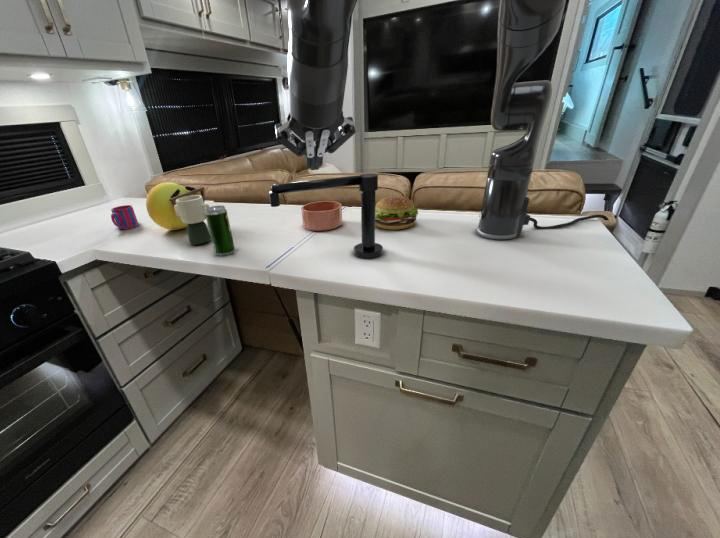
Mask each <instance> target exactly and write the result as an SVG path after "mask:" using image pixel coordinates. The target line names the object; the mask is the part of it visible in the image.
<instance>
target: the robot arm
mask: <svg viewBox="0 0 720 538" xmlns="http://www.w3.org/2000/svg"><path fill="white" fill-rule="evenodd" d="M566 1H567V0H499V3H498V13H497V15H498V16H497V32H496V68H495V69H496V70H495V79H494V86H493V95H492V103H491V110H490V124H491V127H492V129H493V130H495V131H497V132H522V131H523V132H525V133H524V135H523V136H522V137H520V138H518V140H516V141H514V142H512V143H510V144H508V145H505V146H501V147H498V148H496V149H494V150H493V151H492V152H491V154H490V158H489V163H488V169H487V175H486V181H485V187H484V192H483V198H482V204H481V211H479V212H478V213H479V214H478V217H479V221H478V226H477V229H476V233H477V235H479V236H480V237H483V238H486V239H490V240H499V241H500V240H501V241H503V240H511V239H514V238H516V237H521V235H522V231H523V227H524V226H528V225H529V224H530V222H531V223H533V228H534V229H536V230H553V229H560V228H564V227H570V226H572V225H574V224H576V223H579V222H581V221H586V220H590V219H596V218H597V219H599V218H600V219H603V220H604V221H609V220H610V219H609V218H608V217H607V216H606V215H604V214H591V215H588V216H583V217H578V218H576V219H573V220H572V221H570V222H565V223H560V224H555V225H550V226H549V225H548V226H539V225H538V221H537V219H535V218H533V217H531V215H530V214H528V213H527V212H528V208H529V204H530V198H529V197H528V196H527V195H528V190H529V186H530V182H531V179H532V173H533V169H534V164H535V161H536V157H537V156H536V155H537V151H538V146H539V142H540V139H541V135H542V133H543V132H542V131H543V128H544V125H545V121H546V118H547V114H548V111H549V108H550V104H551V99H552V95H553V85H552V82H551V81H550V80H548V79H544V80H534V81H533V80H530V81H520V82H519V81H518V82H517V80H518V79H519V78H520V76H521V75H522V74H523V73H524V72H525V71H526V70H527V69H528V68H529V67H530V66H531V65H532V64H533V63H534V62H536V60H537V59H538V58H539V57H540V56H541V55H542V54H543V53H544V52H545V50H546V49H547V48H548V47H549V45H550V44H551V43H552V42H553V40H554V38H555V37H556V35H557V34H558V32H559V29H560V27H561V23H562V18H563V16H564V10H565V6H566ZM357 3H358V0H286V19H287V21H286V22H287V35H288V36H287V38H288V50H287V51H288V52H287V70H286V76H287V78H288V79H287V80H288V95H289V97H288V98H289V112H288V114H287V117H286V122H284V123H283V124H282V123H279V122H278V123H276V124H275V125H274V130H275V137H276V141H277V142H278V143H280V144H281V145H282V146H283V147H284V148H286V149H287V150H289V151H290V152H292V154H294V155H296V156H297V157H302V156H305V164H306V167H307V168H308V169H310V171H319V170H320V167H322V166H323V165H324V164H323V162H324V156H325V154H326V153H328V154H333V153H335V152H336V151H337V150H338V149H339V148H340V147H342V146H343V145H344V144H345V143H346V142H347V141H349V139H350V138H352V136H353V135H355V134H356V126H355V122H354V118H353V117H352V116H347V117H345V116H344V111H343V109H344V101H345V100H344V99H345V93H346V85H347V77H348V70H349V45H350V37H351V29H352V21H353V13H354V10H355V8H356V5H357Z"/></svg>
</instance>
